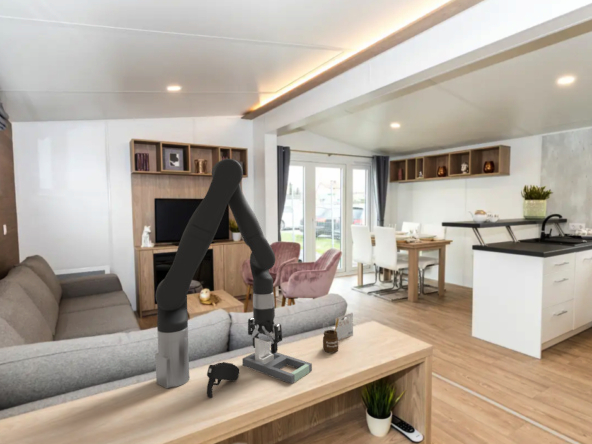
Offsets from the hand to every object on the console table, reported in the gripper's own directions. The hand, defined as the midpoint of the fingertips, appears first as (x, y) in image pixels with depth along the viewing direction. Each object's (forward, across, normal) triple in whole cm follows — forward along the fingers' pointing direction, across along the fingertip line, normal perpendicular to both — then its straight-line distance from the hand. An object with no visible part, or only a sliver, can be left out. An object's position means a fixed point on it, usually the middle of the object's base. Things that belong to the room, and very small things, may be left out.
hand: (265, 350), depth 125 cm
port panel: (+5, +5, 0) cm, 7 cm away
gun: (+5, 0, -19) cm, 20 cm away
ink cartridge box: (+6, +9, +38) cm, 39 cm away
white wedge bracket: (+5, 0, 0) cm, 5 cm away
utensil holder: (+5, +12, +24) cm, 27 cm away
